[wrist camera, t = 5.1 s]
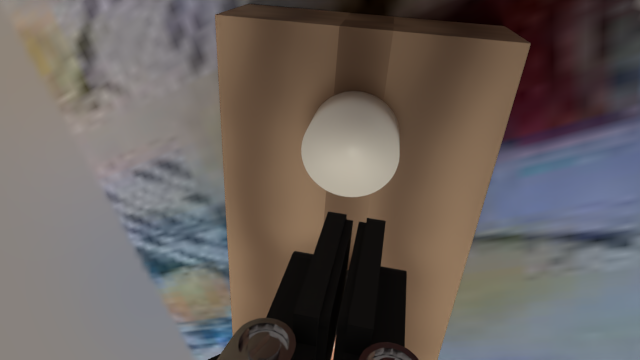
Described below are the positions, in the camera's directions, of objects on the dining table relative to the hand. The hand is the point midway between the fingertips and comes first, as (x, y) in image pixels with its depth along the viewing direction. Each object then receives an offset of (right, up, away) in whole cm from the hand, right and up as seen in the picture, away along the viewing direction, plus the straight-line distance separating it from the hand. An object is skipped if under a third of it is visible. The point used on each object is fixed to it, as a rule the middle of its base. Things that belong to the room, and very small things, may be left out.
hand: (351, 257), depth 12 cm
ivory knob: (+1, +6, +12) cm, 14 cm away
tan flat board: (+1, -2, +18) cm, 18 cm away
